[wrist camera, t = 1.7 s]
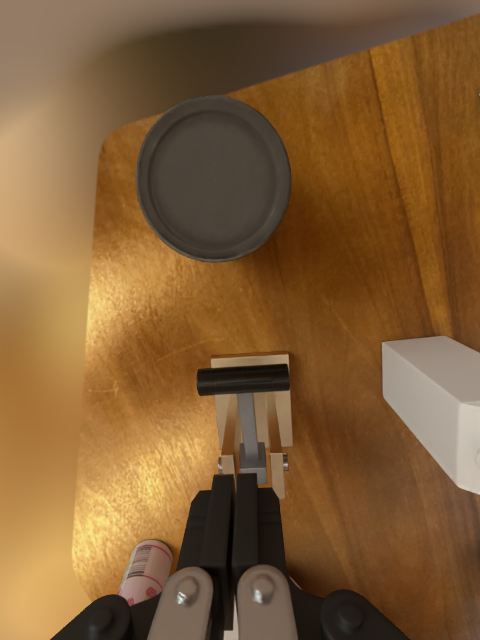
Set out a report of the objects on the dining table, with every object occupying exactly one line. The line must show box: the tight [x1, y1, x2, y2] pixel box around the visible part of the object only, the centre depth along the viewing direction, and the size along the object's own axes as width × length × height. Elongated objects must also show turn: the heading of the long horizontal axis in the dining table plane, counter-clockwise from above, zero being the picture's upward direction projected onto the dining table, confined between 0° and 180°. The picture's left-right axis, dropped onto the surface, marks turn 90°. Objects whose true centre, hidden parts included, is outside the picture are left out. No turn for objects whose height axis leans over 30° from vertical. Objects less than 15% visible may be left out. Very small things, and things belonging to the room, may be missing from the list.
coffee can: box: [136, 96, 291, 263], centre depth 29 cm, size 10×10×14 cm
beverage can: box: [117, 540, 173, 606], centre depth 40 cm, size 6×6×15 cm
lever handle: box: [197, 363, 290, 484], centre depth 26 cm, size 13×6×2 cm, turn 5°
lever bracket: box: [211, 351, 293, 499], centre depth 34 cm, size 12×9×14 cm
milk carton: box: [382, 336, 480, 495], centre depth 30 cm, size 7×7×19 cm
